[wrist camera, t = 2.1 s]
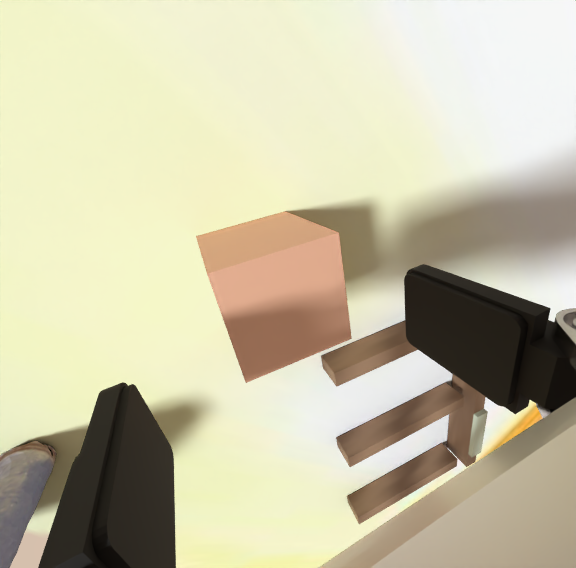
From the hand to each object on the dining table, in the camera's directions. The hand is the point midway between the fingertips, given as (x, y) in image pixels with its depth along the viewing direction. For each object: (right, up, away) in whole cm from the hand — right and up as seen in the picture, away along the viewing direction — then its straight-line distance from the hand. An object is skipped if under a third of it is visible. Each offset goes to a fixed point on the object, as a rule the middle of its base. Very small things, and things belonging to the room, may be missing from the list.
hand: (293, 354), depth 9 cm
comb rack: (+10, -10, +17) cm, 22 cm away
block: (-2, +3, +7) cm, 8 cm away
